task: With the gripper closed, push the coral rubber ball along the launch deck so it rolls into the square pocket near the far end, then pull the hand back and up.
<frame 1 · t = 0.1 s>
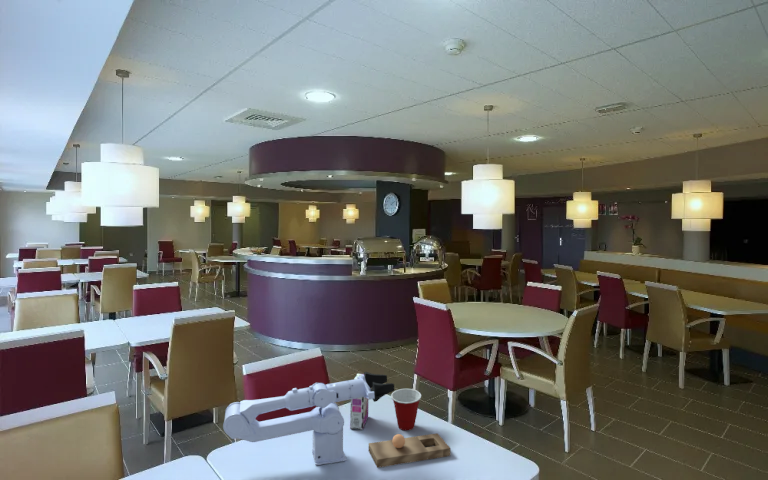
hand: (390, 382, 140), 22 cm above the table, tool horizontal, fingers open, 7 cm apart
ball: (398, 441, 137), point 4 cm above the table, touching deck
deck: (409, 453, 138), on the table
candy bar box: (359, 423, 159), on the table
plastic cup: (405, 427, 156), on the table
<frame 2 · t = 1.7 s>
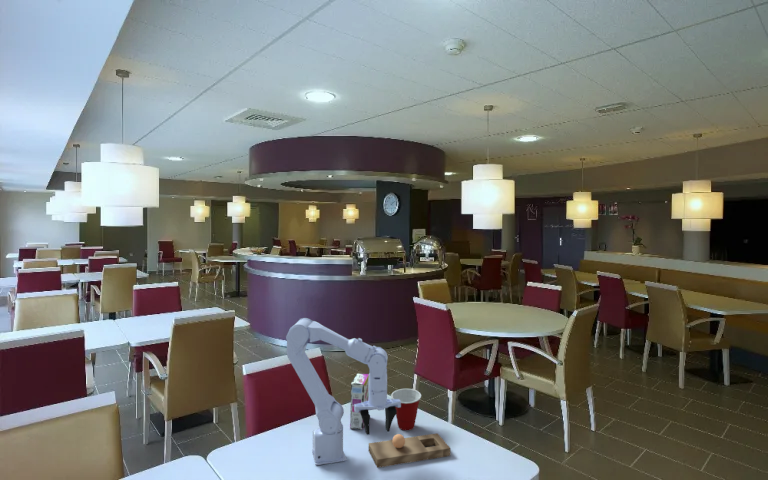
hand: (377, 431, 135), 8 cm above the table, tool pointing down, fingers open, 6 cm apart
nothing on the table moved.
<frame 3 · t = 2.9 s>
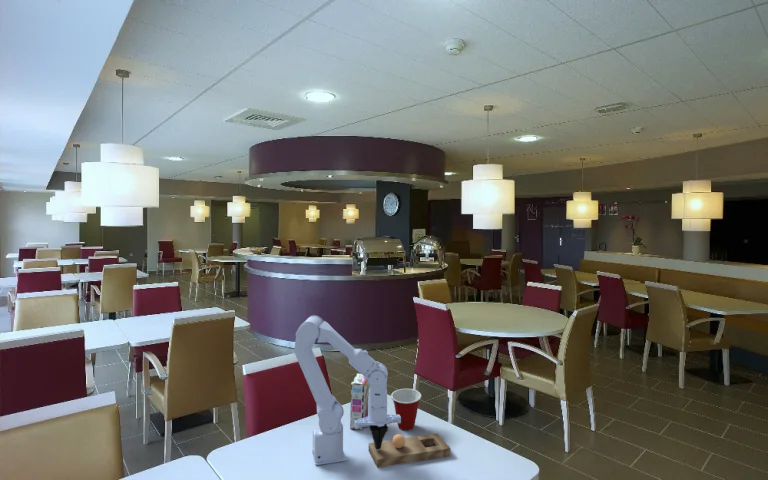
hand: (377, 447, 135), 3 cm above the table, tool pointing down, fingers closed
nothing on the table moved.
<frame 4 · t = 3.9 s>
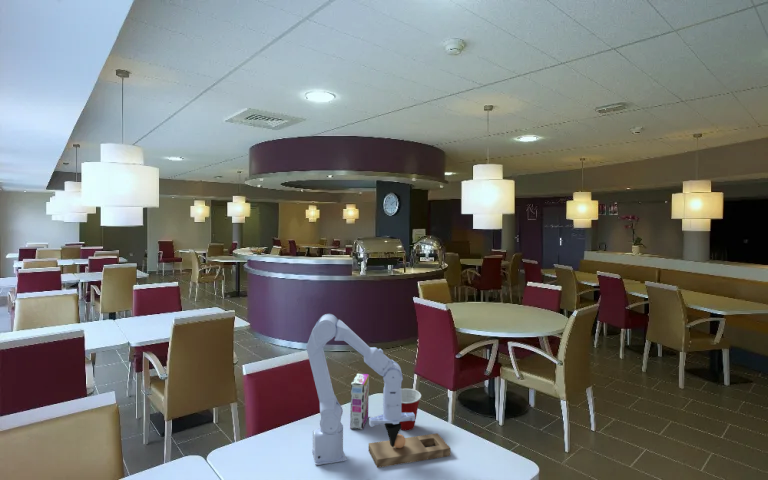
hand: (392, 445, 136), 3 cm above the table, tool pointing down, fingers closed, pressing on ball
ball: (399, 441, 137), point 4 cm above the table, touching deck, gripper
everything else where it was.
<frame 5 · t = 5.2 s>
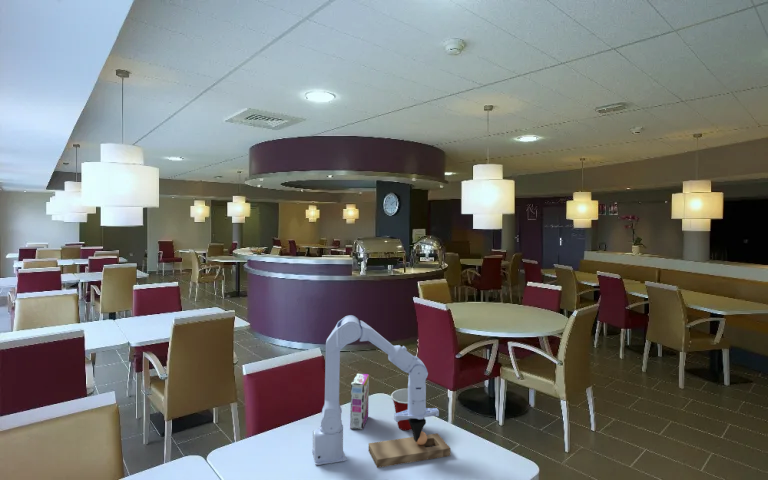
hand: (416, 440, 138), 4 cm above the table, tool pointing down, fingers closed, pressing on ball
ball: (420, 438, 139), point 4 cm above the table, tilted 142°, touching deck, gripper
everything else where it was.
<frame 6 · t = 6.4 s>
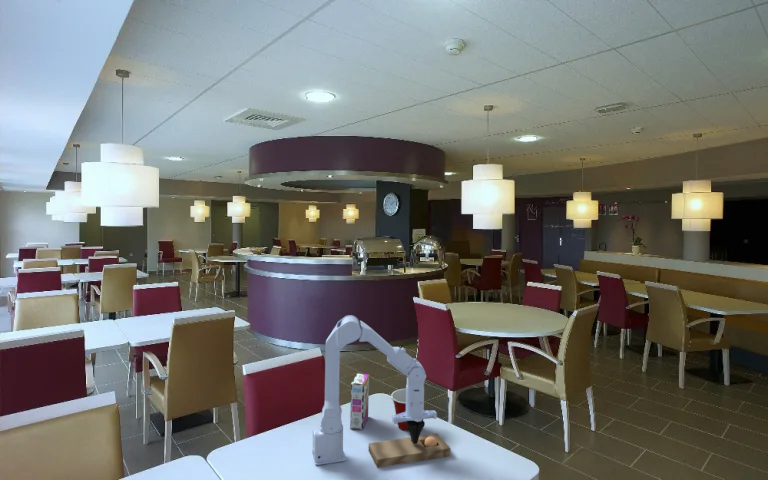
hand: (414, 442, 138), 3 cm above the table, tool pointing down, fingers closed
ball: (430, 443, 140), point 2 cm above the table, tilted 29°, touching deck
everything else where it was.
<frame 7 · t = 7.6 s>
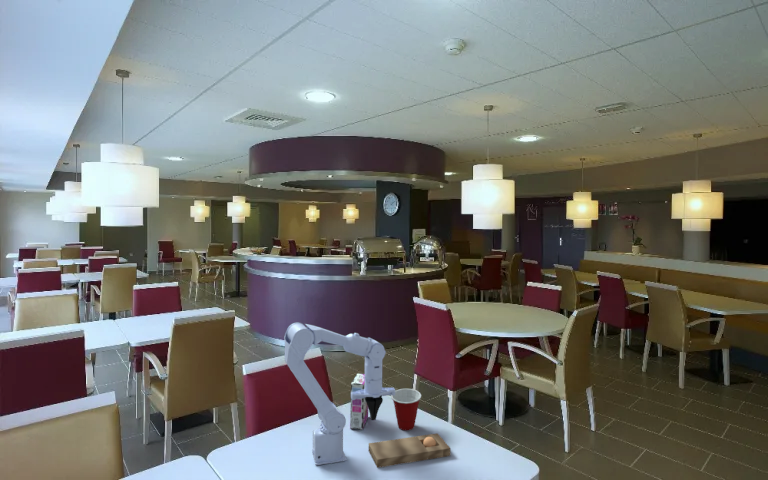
hand: (373, 418, 141), 9 cm above the table, tool pointing down, fingers closed
ball: (429, 443, 140), point 2 cm above the table, tilted 42°, touching deck
everything else where it was.
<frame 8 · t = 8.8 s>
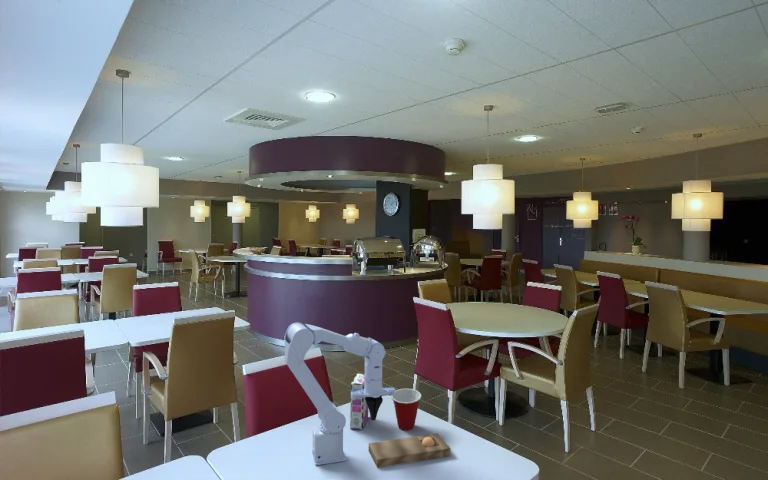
hand: (373, 418, 141), 9 cm above the table, tool pointing down, fingers closed
ball: (428, 443, 140), point 2 cm above the table, tilted 54°, touching deck
everything else where it was.
at the end: ball 0.4 cm from the target spot on the deck, point 2.2 cm above the deck's base; ball moved 10.3 cm from its start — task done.
